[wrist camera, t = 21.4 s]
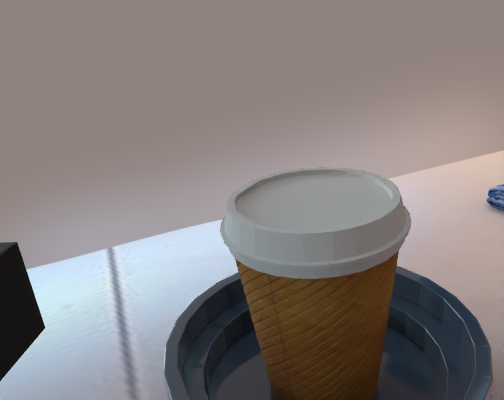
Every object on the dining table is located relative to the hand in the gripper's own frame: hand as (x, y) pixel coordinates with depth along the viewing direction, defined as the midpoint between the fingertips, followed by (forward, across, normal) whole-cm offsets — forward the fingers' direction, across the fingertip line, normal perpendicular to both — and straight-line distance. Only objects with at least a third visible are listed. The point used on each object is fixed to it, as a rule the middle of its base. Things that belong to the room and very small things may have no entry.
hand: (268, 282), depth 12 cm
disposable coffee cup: (+12, +1, -15) cm, 19 cm away
